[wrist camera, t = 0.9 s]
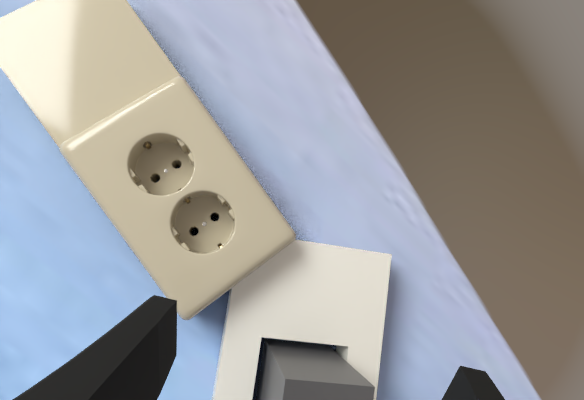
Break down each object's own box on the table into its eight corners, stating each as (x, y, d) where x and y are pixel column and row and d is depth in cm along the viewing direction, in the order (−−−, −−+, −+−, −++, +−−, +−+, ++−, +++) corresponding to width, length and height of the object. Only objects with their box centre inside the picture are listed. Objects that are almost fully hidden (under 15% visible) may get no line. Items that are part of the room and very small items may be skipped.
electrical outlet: (97, -45, 20) (300, 237, 20) (117, 3, 24) (286, 238, 24) (-39, 20, 18) (184, 325, 18) (7, 60, 22) (189, 310, 22)
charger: (319, 414, 23) (364, 486, 16) (253, 409, 22) (270, 483, 15) (328, 345, 23) (374, 386, 17) (264, 338, 23) (285, 378, 16)
